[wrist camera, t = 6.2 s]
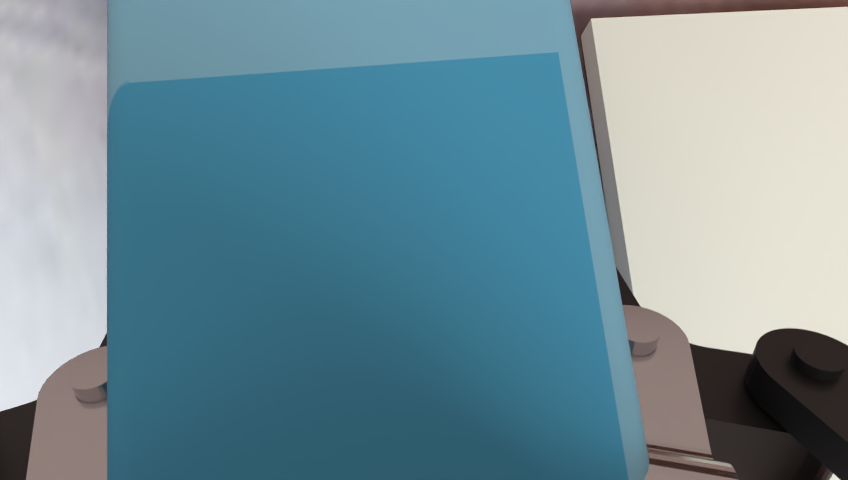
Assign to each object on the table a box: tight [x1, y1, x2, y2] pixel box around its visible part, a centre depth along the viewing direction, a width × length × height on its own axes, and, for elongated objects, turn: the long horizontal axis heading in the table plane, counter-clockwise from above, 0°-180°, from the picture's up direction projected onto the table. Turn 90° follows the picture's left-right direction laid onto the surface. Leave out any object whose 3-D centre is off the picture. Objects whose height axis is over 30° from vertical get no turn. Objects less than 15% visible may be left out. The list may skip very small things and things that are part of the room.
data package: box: [107, 0, 649, 480], centre depth 11 cm, size 12×4×12 cm, turn 6°
